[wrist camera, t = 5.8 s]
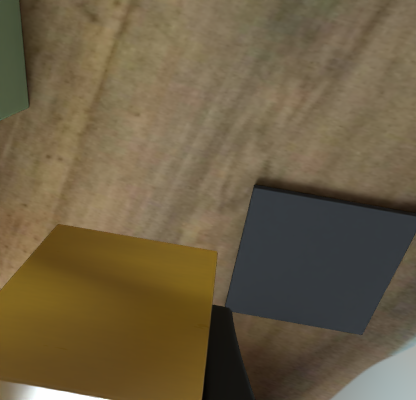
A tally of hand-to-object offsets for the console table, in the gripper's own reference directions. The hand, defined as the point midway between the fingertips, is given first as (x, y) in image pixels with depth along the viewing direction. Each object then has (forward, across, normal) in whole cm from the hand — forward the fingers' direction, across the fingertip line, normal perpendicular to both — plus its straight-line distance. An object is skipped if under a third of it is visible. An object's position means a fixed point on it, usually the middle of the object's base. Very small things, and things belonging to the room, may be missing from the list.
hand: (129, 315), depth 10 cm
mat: (+10, -8, +4) cm, 14 cm away
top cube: (+1, 0, 0) cm, 1 cm away
